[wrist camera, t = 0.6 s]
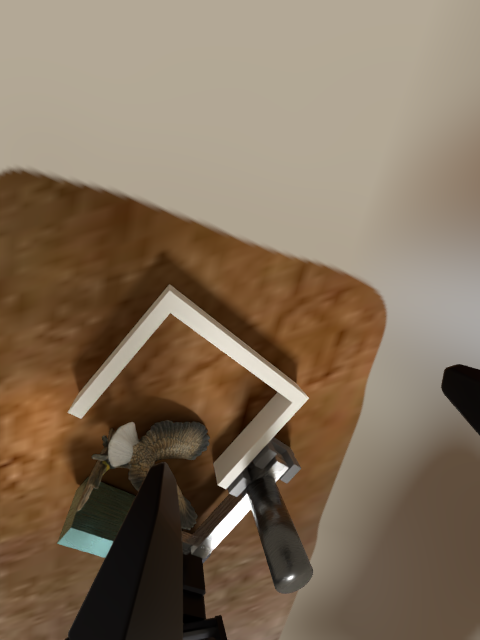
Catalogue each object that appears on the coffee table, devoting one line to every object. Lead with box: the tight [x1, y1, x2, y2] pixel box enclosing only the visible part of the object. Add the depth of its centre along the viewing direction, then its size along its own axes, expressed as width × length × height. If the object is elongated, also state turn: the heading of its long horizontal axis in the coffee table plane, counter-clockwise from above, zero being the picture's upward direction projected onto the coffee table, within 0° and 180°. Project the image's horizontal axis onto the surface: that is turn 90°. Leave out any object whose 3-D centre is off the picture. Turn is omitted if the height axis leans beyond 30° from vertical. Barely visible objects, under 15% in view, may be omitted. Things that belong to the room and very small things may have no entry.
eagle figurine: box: [76, 420, 210, 530], centre depth 22 cm, size 8×7×9 cm
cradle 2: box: [253, 437, 301, 483], centre depth 26 cm, size 2×5×3 cm, turn 48°
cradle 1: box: [228, 462, 255, 497], centre depth 27 cm, size 2×5×3 cm, turn 48°
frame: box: [68, 284, 309, 489], centre depth 23 cm, size 11×15×2 cm
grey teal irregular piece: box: [57, 452, 313, 594], centre depth 21 cm, size 13×14×10 cm
